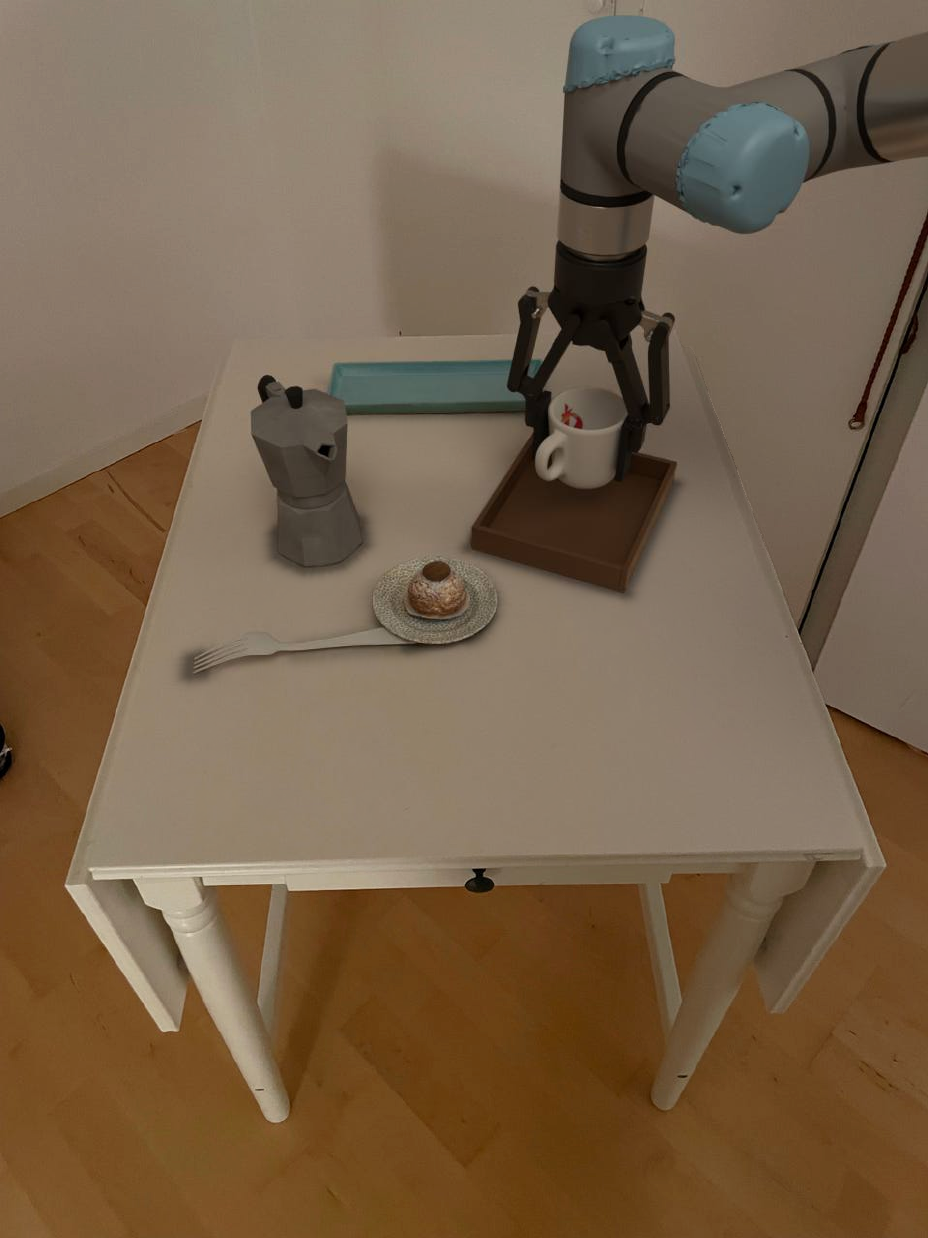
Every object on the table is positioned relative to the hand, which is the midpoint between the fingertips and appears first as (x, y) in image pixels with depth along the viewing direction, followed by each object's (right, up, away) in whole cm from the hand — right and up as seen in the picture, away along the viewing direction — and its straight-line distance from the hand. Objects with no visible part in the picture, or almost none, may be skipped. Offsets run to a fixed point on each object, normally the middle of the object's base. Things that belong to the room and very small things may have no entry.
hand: (580, 462), depth 92 cm
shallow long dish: (-15, +12, +21) cm, 28 cm away
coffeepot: (-27, -7, +4) cm, 28 cm away
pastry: (-15, -15, -4) cm, 21 cm away
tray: (0, -5, +5) cm, 7 cm away
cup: (0, -2, +2) cm, 3 cm away
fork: (-26, -19, -7) cm, 33 cm away
